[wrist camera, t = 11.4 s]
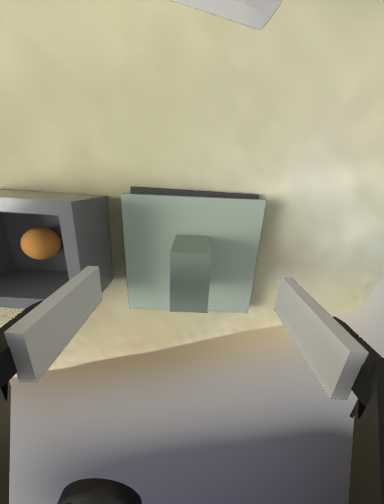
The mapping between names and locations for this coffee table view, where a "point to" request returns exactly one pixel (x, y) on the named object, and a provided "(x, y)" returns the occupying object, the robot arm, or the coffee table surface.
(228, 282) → the lid
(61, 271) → the grey open box
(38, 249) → the ball
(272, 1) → the heart sculpture
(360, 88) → the coffee table surface
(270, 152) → the coffee table surface
